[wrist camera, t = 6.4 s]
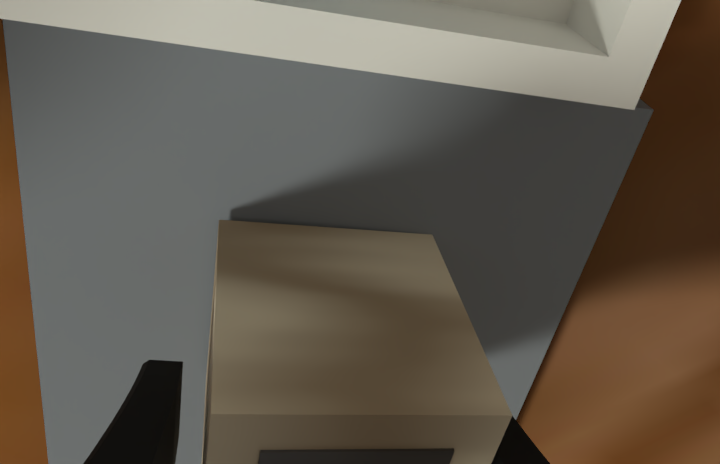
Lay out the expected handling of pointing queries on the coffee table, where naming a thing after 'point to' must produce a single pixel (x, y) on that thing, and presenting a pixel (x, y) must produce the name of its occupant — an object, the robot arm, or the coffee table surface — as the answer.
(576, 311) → the coffee table surface
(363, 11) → the tray
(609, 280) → the coffee table surface
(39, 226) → the mat
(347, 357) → the birch block
